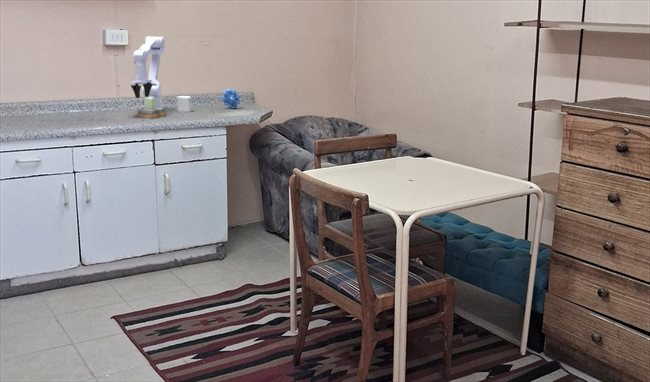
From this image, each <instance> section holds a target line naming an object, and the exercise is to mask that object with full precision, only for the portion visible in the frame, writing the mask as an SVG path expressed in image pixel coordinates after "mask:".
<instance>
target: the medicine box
mask: <svg viewBox="0 0 650 382" xmlns="http://www.w3.org/2000/svg"><path fill="white" fill-rule="evenodd" d="M175 101H176V112H178V113H179V112H183V113H184V112H185V113H190V112H192V111H193V107H192V106H193V105H192V96H188V95H179V96H176V100H175Z"/></svg>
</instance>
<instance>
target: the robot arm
mask: <svg viewBox="0 0 650 382" xmlns="http://www.w3.org/2000/svg"><path fill="white" fill-rule="evenodd" d="M144 43H145V44H141V46H140V48H139V49H138V50H135V51H133V61H134V62H133V63H134V64H135V79H136V80H132V81H131V82H130V83H131V84H130V87H131V89H132V91H133V93H134V96H135V98H136V99H140V96H141V94H142V97H144V98H156V108H161V109H164V108H163V99H162V98H161V97H160V96H161V95H162V85H161V82H159V81H158V75H159V69H160V68H159V67H160V61H161V55H163V53H164V51H165V44H166V43H165V38H164V37H163V36H146V37H145V40H144ZM149 55H151V58H150V65H149V72H148V71H147V62H148V58H149ZM147 72H148V73H147ZM147 74H148V75H147Z"/></svg>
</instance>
